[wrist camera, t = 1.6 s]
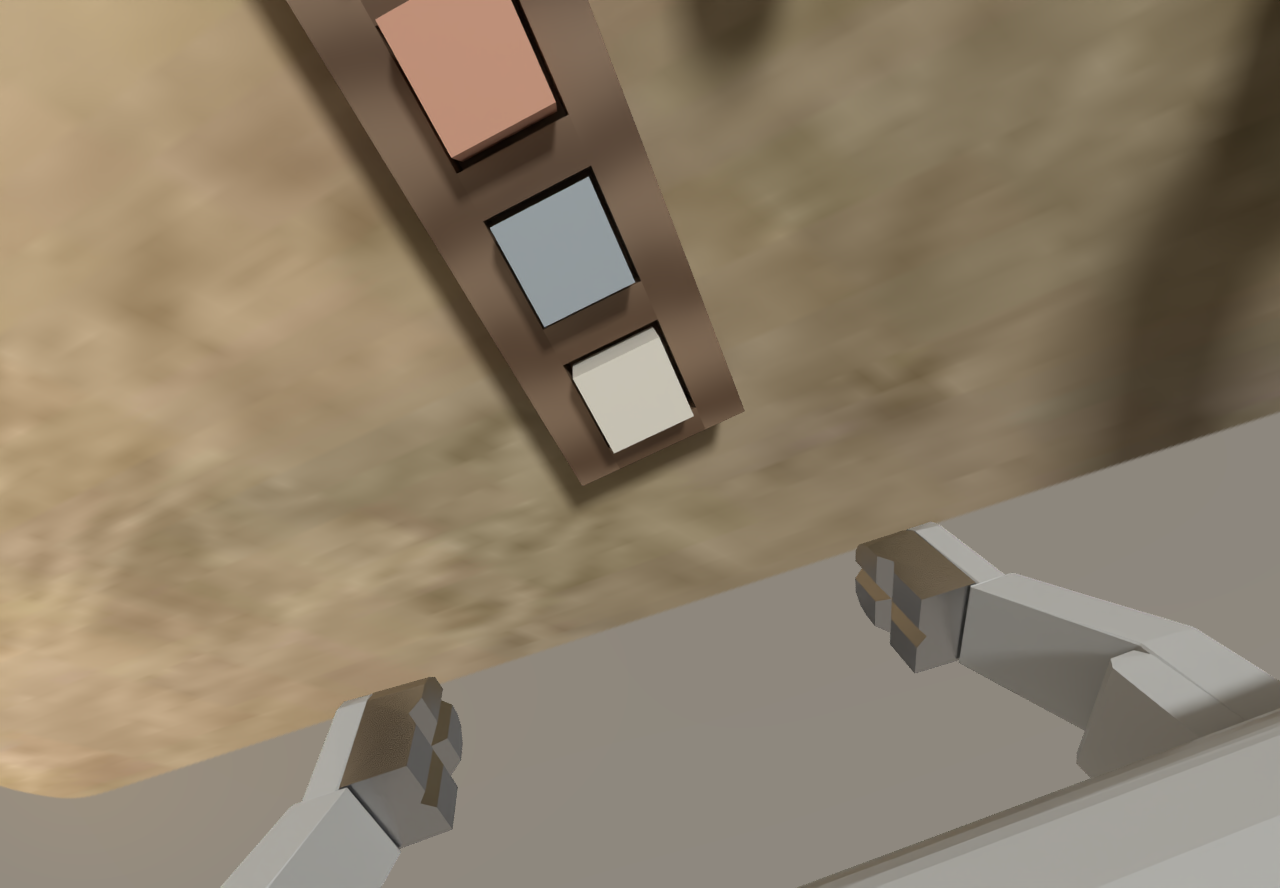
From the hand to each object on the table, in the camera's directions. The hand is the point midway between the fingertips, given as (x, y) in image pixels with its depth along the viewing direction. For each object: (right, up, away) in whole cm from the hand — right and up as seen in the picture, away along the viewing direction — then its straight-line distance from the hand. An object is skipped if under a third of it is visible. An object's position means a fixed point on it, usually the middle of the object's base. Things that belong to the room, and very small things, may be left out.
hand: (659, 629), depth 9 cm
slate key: (-4, +13, +16) cm, 22 cm away
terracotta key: (-8, +20, +13) cm, 25 cm away
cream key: (-1, +7, +20) cm, 21 cm away
